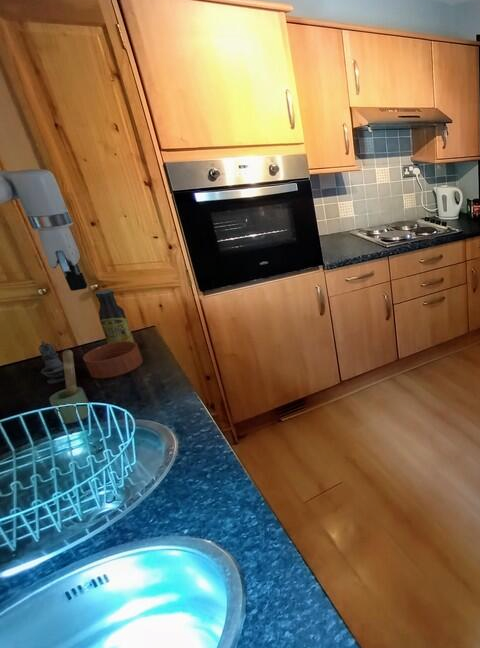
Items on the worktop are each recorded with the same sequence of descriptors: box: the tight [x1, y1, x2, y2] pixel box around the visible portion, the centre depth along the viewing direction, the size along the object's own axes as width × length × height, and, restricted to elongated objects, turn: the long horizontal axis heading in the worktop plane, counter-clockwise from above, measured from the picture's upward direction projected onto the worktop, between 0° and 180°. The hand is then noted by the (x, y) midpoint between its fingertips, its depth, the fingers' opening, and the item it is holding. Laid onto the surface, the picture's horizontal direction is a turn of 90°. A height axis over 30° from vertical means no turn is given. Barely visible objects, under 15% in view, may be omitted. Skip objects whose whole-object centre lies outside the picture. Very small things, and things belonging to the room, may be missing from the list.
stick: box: [61, 349, 78, 397], centre depth 110 cm, size 2×2×18 cm
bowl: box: [82, 341, 144, 379], centre depth 132 cm, size 12×12×6 cm
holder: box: [48, 386, 90, 424], centre depth 111 cm, size 6×6×7 cm
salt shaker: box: [38, 341, 66, 385], centre depth 126 cm, size 6×6×12 cm
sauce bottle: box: [95, 288, 135, 344], centre depth 140 cm, size 7×6×20 cm
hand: (79, 288), depth 120 cm, fingers closed
